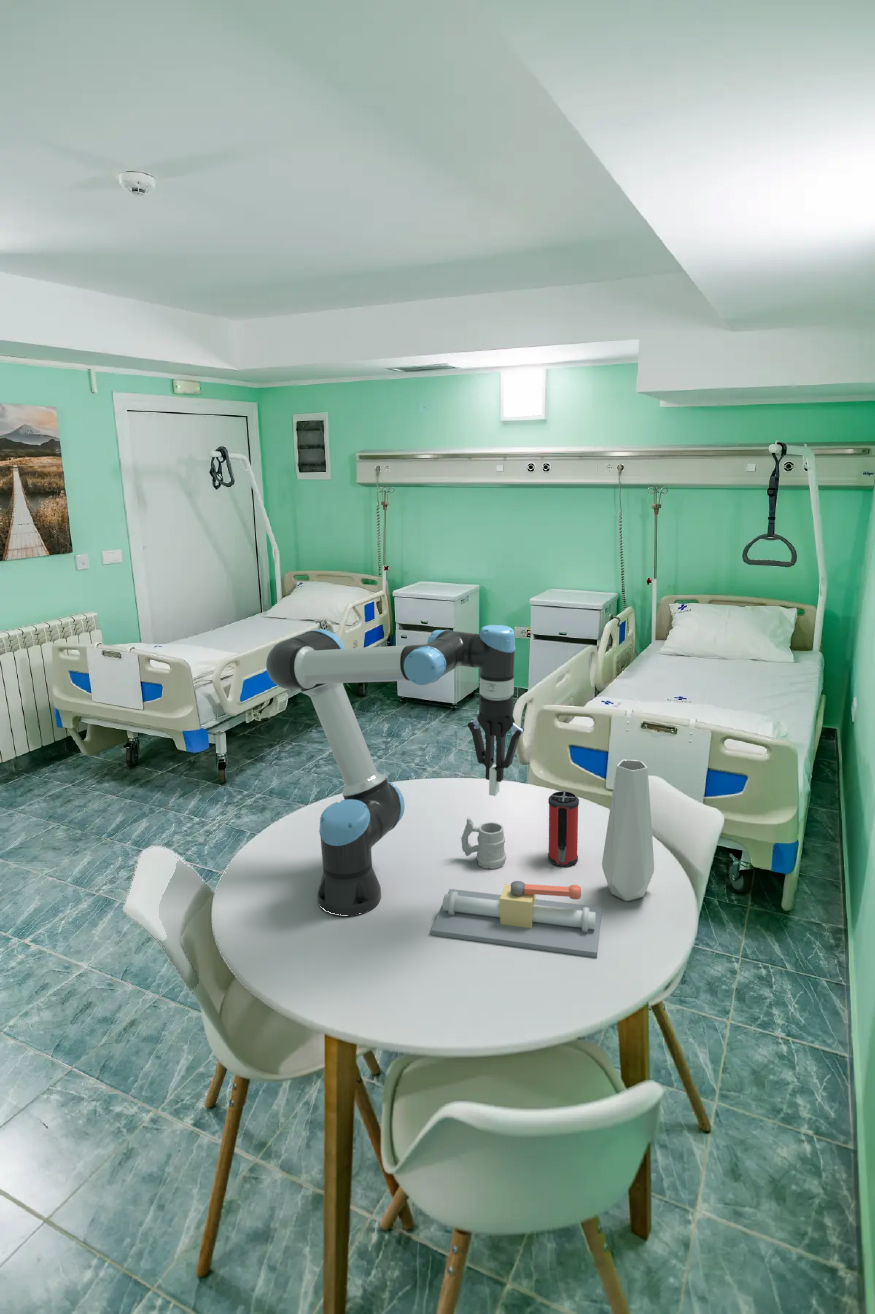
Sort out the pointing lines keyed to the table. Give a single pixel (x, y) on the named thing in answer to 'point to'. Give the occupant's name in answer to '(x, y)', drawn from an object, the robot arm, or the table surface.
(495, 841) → the mug
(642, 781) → the vase
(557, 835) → the speaker
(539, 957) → the table surface
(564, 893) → the lever
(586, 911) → the grey base plate
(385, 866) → the table surface
